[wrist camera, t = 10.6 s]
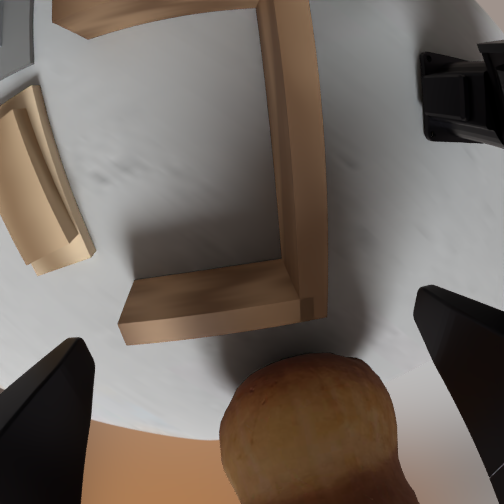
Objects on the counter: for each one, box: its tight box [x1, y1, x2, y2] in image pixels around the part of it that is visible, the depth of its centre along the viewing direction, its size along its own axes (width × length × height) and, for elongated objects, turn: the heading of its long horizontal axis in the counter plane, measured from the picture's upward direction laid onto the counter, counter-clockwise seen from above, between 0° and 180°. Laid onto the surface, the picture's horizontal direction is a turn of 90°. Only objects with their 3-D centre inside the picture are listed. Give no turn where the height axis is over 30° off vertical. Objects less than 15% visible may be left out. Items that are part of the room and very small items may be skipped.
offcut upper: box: [0, 108, 79, 265], centre depth 15 cm, size 4×9×2 cm, turn 19°
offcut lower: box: [0, 85, 96, 276], centre depth 17 cm, size 5×12×2 cm, turn 14°
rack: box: [52, 0, 328, 345], centre depth 15 cm, size 12×20×5 cm, turn 6°
